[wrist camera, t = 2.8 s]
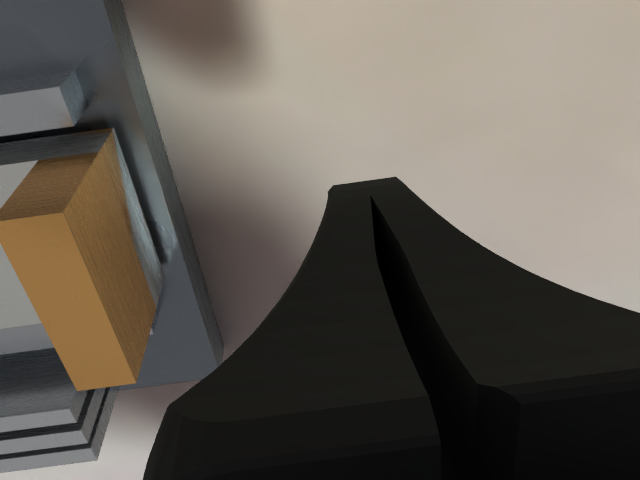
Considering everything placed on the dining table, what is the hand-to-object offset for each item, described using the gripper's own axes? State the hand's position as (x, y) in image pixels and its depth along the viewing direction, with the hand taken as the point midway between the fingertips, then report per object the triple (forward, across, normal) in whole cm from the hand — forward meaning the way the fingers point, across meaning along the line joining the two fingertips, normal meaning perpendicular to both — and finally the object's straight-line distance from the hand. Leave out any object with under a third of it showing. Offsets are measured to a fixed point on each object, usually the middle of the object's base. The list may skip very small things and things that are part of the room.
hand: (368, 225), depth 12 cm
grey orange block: (+2, +9, 0) cm, 9 cm away
